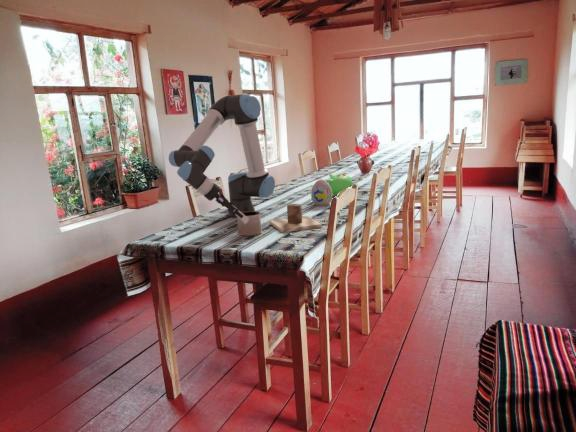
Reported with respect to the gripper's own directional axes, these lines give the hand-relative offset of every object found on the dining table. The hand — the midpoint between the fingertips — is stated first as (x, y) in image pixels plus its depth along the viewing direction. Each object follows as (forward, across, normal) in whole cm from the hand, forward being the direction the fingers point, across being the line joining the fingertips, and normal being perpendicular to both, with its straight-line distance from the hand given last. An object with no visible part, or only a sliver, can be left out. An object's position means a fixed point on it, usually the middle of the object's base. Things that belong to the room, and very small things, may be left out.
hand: (244, 218), depth 211 cm
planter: (+7, -1, -4) cm, 8 cm away
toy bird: (+59, -61, +49) cm, 98 cm away
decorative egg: (+45, -43, +34) cm, 71 cm away
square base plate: (+24, -5, +13) cm, 28 cm away
